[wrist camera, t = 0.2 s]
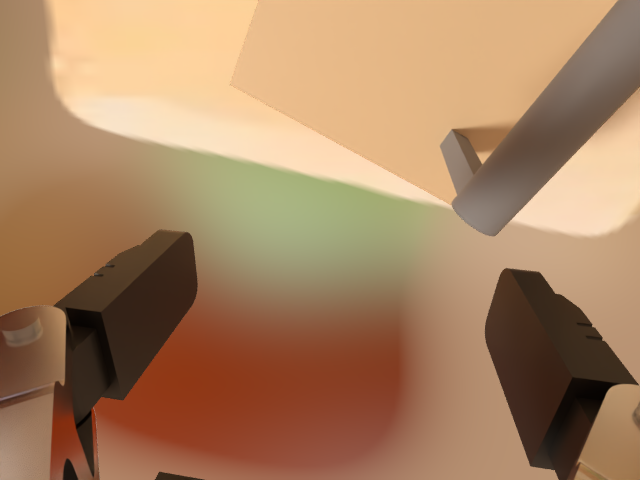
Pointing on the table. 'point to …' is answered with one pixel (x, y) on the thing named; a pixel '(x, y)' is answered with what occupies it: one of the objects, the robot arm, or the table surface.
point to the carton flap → (449, 86)
